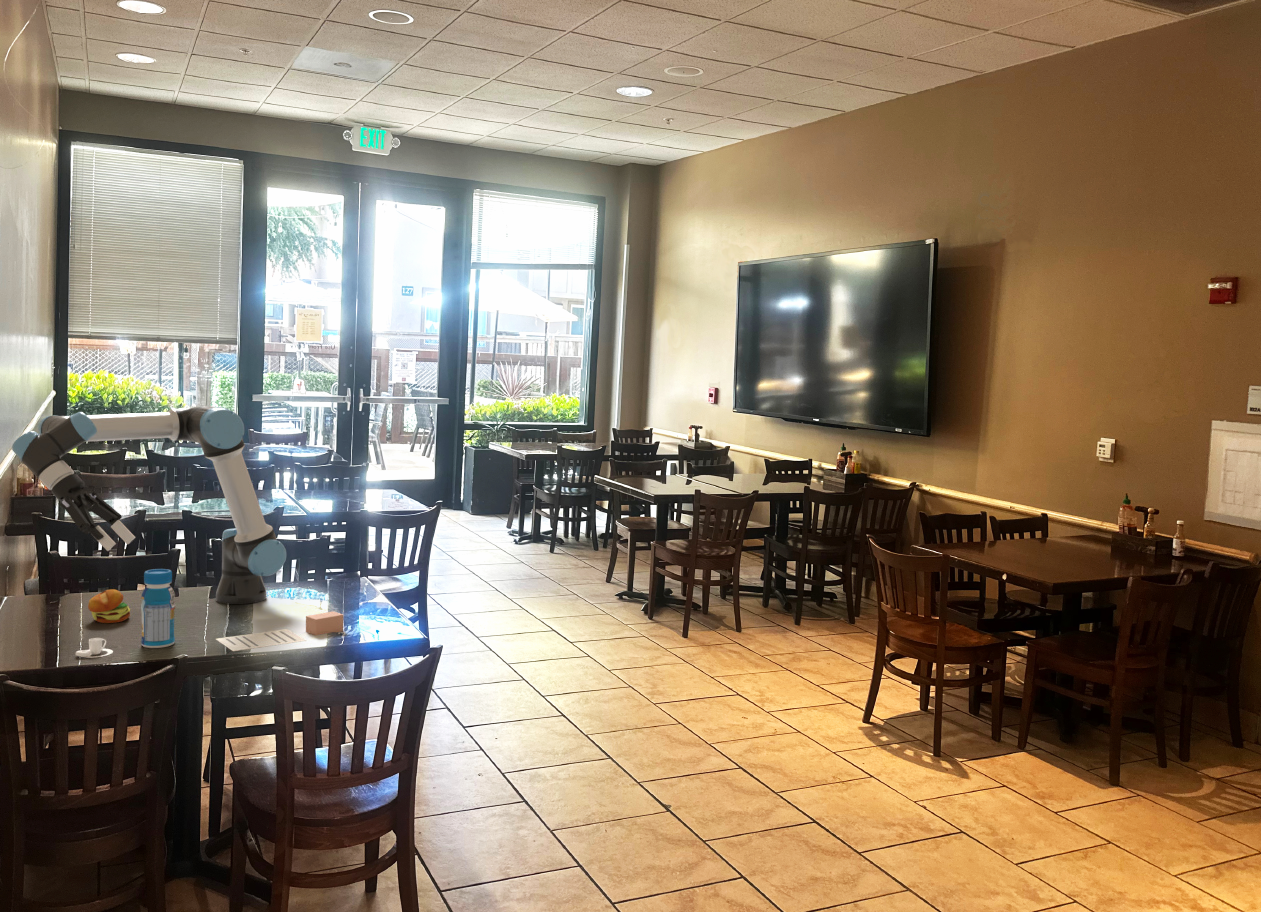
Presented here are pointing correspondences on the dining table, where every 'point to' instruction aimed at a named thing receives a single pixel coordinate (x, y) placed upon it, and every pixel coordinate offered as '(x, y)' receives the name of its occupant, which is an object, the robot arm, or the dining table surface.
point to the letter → (260, 640)
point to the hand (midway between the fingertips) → (121, 544)
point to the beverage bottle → (157, 609)
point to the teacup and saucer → (94, 648)
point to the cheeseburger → (109, 607)
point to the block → (324, 623)
